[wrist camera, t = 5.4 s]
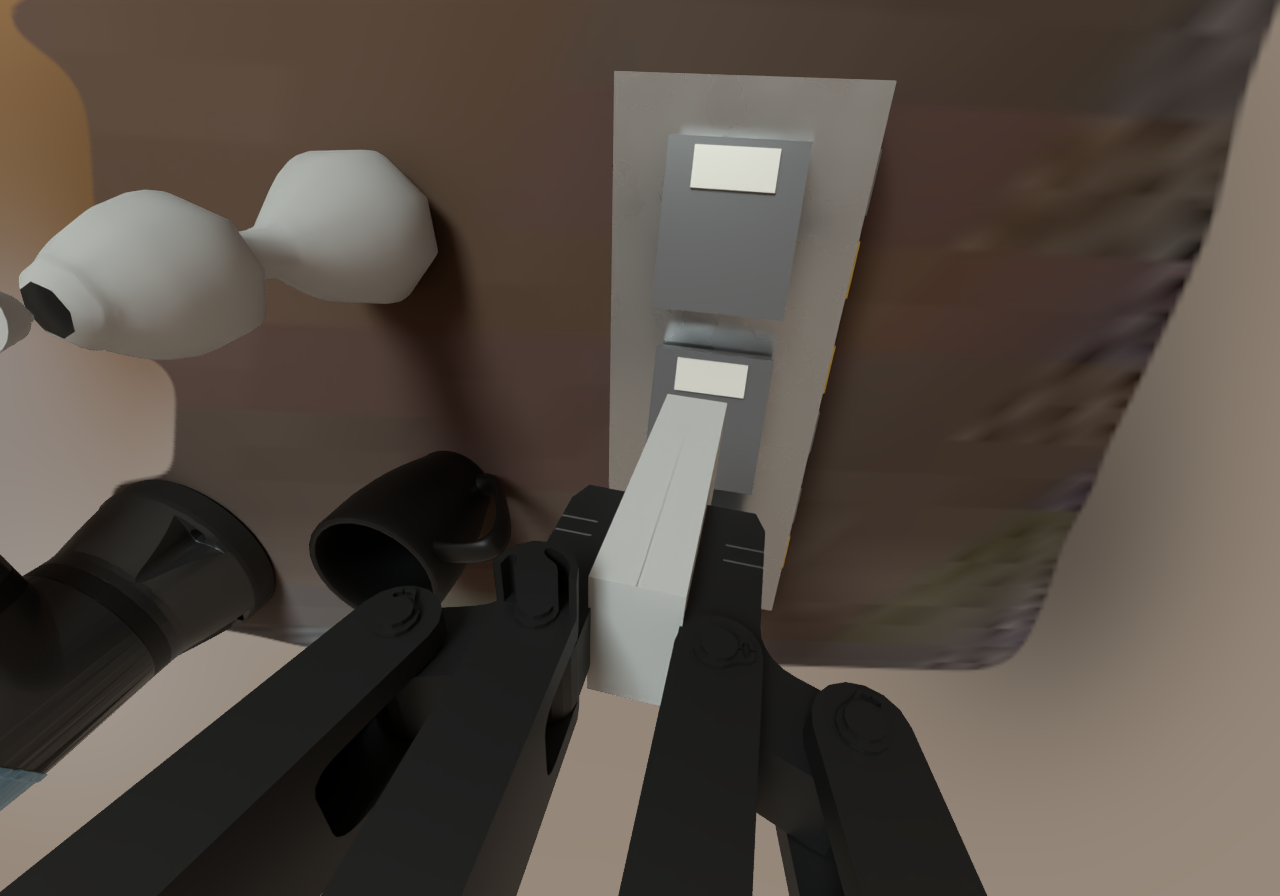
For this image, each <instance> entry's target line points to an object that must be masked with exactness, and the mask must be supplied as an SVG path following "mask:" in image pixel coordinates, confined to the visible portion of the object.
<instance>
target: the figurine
mask: <svg viewBox="0 0 1280 896" xmlns="http://www.w3.org/2000/svg"><path fill="white" fill-rule="evenodd" d="M437 253H438V249H437V244H436V239H435V234H434V229H433V224H432V219H431V214H430V209H429V204H428V199H427V197H426V196H425V195H424V194H423V193H422V192H421V191H420V190H419V189H418V188H417V187H416V186H415V185H414V184H413V183H412V182H411V181H410V180H409V179H408V178H407V177H406V176H404V175H403V174H402V173H401V172H400V171H399V170H398V169H397V168H396V167H395V166H394V165H393V164H392V163H391V162H390V161H389V160H388V159H387V158H386V157H385V156H383V155H382V154H380V153H378V152H376V151H370V150H334V151H308V152H305V153H302V154H299V155H296V156H295V157H294V158H292V159H291V160H290V161H288V162H287V164H286V165H285V166H284V167H283V169H282V170H281V171H280V172H279V174H278V175H277V177H276V178H275V180H274V182H273V184H272V186H271V188H270V190H269V192H268V195H267V197H266V199H265V202H264V204H263V206H262V209H261V211H260V213H259V216H258V218H257V220H256V223H255V225H254V227H252V228H250V229H248V230H245V231H239V232H238V230H237V229H236V227H235V226H234V225H233V223H232V222H231V221H230V220H228V219H226V218H224V217H221V216H219V215H217V214H215V213H212V212H210V211H208V210H206V209H204V208H201V207H199V206H197V205H195V204H192V203H190V202H188V201H186V200H184V199H181V198H179V197H177V196H174V195H172V194H170V193H167V192H164V191H153V190H140V191H133V192H126V193H124V194H121V195H119V196H117V197H114V198H112V199H109V200H107V201H105V202H102V203H100V204H98V205H95V206H93V207H91V208H89V209H88V210H87V211H85V212H84V213H83V214H81V215H80V216H79V217H77V218H76V219H75V220H74V221H73V222H71V223H70V224H69V225H68V226H66V227H65V228H64V229H63V230H61V231H60V232H59V233H58V234H57V235H55V236H54V237H53V238H52V239H51V240H50V241H49V242H48V243H47V244H46V245H45V246H44V248H43V249H42V250H41V251H40V253H39V254H38V256H37V257H36V259H35V260H34V262H33V263H32V264H31V265H30V266H28V267H27V268H26V269H25V270H24V271H22V273H21V275H20V276H19V286H20V291H21V294H22V298H23V301H24V305H25V307H24V305H22V303H20V302H19V301H18V300H17V299H15V298H14V297H12V296H10V295H8V294H5V293H2V292H0V352H2V351H4V350H5V349H7V348H8V347H10V346H12V345H14V344H15V343H17V342H18V341H20V340H22V339H23V338H25V337H26V336H27V335H28V333H29V331H30V329H31V322H32V321H33V320H34V319H35V320H36V321H37V322H38V324H39V325H40V326H41V327H42V328H43V329H44V330H45V331H46V332H48V333H50V334H52V335H54V336H56V337H59V338H61V339H63V340H65V341H68V342H70V343H72V344H75V345H77V346H79V347H81V348H85V349H88V350H106V351H110V352H114V353H118V354H123V355H127V356H132V357H138V358H144V359H151V360H172V359H179V358H187V357H194V356H201V355H204V354H206V353H209V352H212V351H214V350H217V349H219V348H221V347H223V346H224V345H226V344H228V343H230V342H232V341H234V340H236V339H238V338H240V337H242V336H243V335H245V334H247V333H249V332H251V331H252V330H254V329H255V328H257V327H258V326H259V325H261V324H262V322H263V319H264V317H265V315H266V297H265V280H267V279H272V278H276V279H279V280H281V281H282V282H284V283H286V284H288V285H290V286H292V287H293V288H295V289H297V290H299V291H301V292H303V293H306V294H308V295H310V296H313V297H315V298H318V299H322V300H327V301H331V302H353V303H377V304H390V303H395V302H400V301H402V300H404V299H405V298H406V297H408V296H409V295H410V294H411V292H412V291H413V289H414V288H415V287H416V285H417V284H418V282H419V281H420V279H421V278H422V276H423V275H424V273H425V272H426V270H427V269H428V267H429V266H430V264H431V263H432V261H433V260H434V258H435V257H436V255H437Z"/></svg>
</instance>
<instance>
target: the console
mask: <svg viewBox="0 0 1280 896" xmlns="http://www.w3.org/2000/svg"><path fill="white" fill-rule="evenodd" d="M895 85H896V81H890V80H861V79H832V78H803V77H773V76H744V75H715V74H686V73H657V72H628V71H614V138H613V215H612V291H611V367H610V443H609V489H615V490H620V491H626V489H627V486H628V484H629V482H630V479H631V477H632V475H633V473H634V470H635V468H636V466H637V463H638V461H639V459H640V456H641V454H642V452H643V450H644V447H645V445H646V441H647V431H648V421H649V412H650V402H651V392H652V382H653V373H654V363H655V353H656V347H657V346H659V345H661V344H666V345H674V346H683V347H691V348H700V349H708V350H717V351H725V352H734V353H742V354H751V355H759V356H768V357H773V360H774V363H773V369H772V375H771V381H770V387H769V393H768V399H767V405H766V411H765V417H764V423H763V429H762V435H761V442H760V448H759V454H758V460H757V466H756V472H755V478H754V484H753V490H752V495H749V494H742V493H736V492H730V491H723V490H717V489H714V491H713V496H712V501H711V506H716V507H722V508H727V509H733V510H738V511H744V512H749V513H755V514H756V515H757V517H758V519H759V521H760V523H761V524H762V526H763V528H764V530H765V548H764V566H763V585H762V604H761V609H765V610H770V611H772V607H773V603H774V599H775V595H776V590H777V586H778V582H779V578H780V573H781V569H782V568H783V566H784V562H785V558H786V554H787V550H788V545H789V541H790V537H791V535H790V531H791V527H792V523H794V520H795V516H796V512H797V507H798V503H799V499H800V495H801V491H802V480H803V476H804V472H805V467H806V463H807V459H808V455H809V453H811V448H812V444H813V440H814V436H815V432H816V427H817V423H818V419H819V415H820V404H821V399H822V395H823V393H825V389H826V385H827V381H828V377H829V373H830V368H831V364H832V360H833V356H834V351H835V347H836V345H835V340H836V336H837V332H838V327H839V323H840V319H841V315H842V310H843V306H844V302H845V299H847V297H848V292H849V288H850V284H851V280H852V276H853V271H854V267H855V263H856V259H857V255H858V250H859V246H860V242H861V241H860V240H859V238H860V234H861V230H862V225H863V221H864V217H865V216H867V212H868V208H869V204H870V200H871V196H872V191H873V187H874V183H875V179H876V174H877V170H878V166H879V162H880V158H881V153H882V149H881V145H882V140H883V136H884V132H885V128H886V124H887V119H888V115H889V111H890V107H891V102H892V98H893V94H894V90H895ZM669 134H677V135H696V136H715V137H734V138H753V139H772V140H790V141H809V142H813V144H812V150H811V156H810V162H809V168H808V174H807V180H806V186H805V192H804V198H803V204H802V210H801V216H800V222H799V228H798V234H797V240H796V246H795V252H794V258H793V264H792V270H791V276H790V282H789V288H788V294H787V300H786V306H785V312H784V318H783V321H777V320H768V319H758V318H749V317H740V316H730V315H721V314H711V313H702V312H693V311H683V310H674V309H665V308H655V307H652V297H653V287H654V277H655V267H656V257H657V246H658V236H659V226H660V216H661V206H662V196H663V185H664V175H665V165H666V155H667V145H668V135H669Z"/></svg>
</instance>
